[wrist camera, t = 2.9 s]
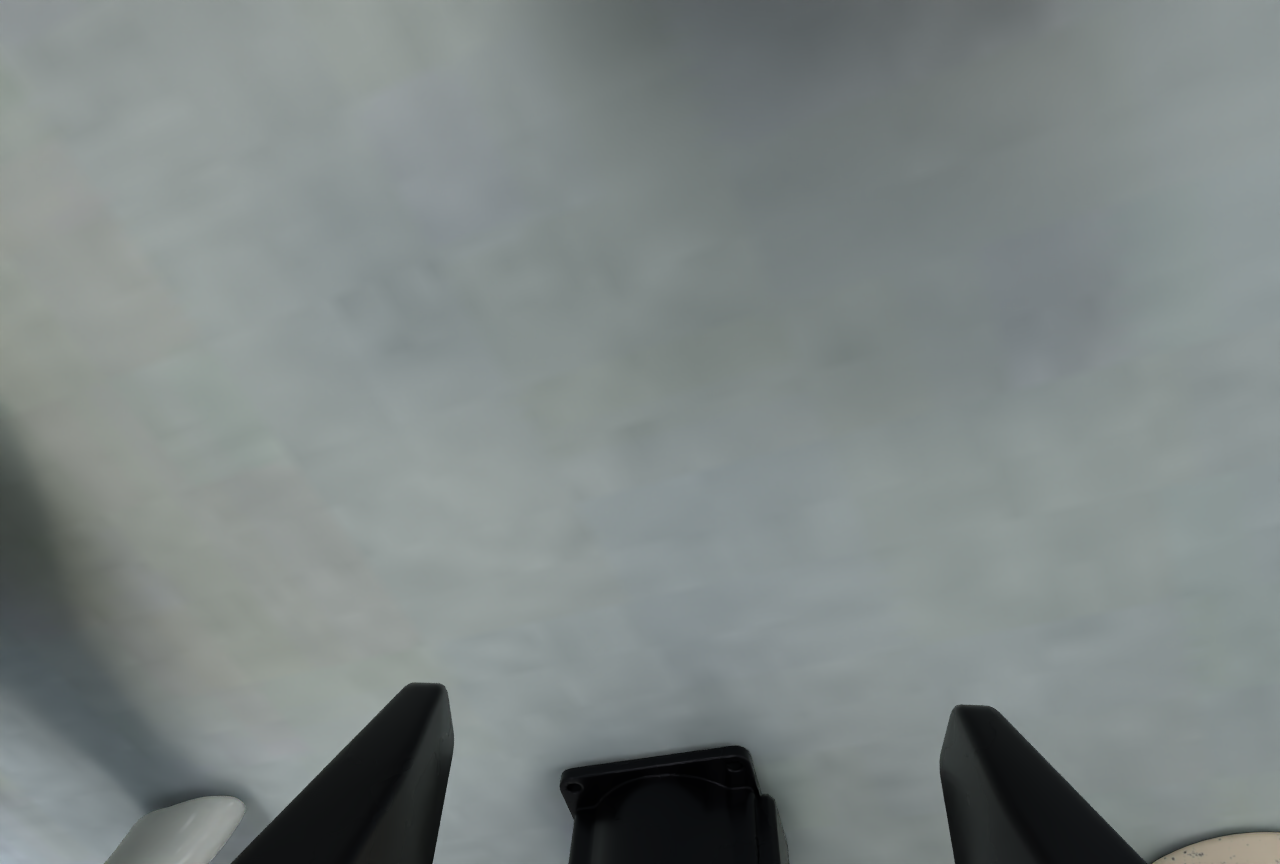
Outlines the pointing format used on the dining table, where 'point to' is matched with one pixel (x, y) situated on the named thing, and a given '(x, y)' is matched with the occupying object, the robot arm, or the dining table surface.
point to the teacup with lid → (1229, 850)
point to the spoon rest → (181, 832)
